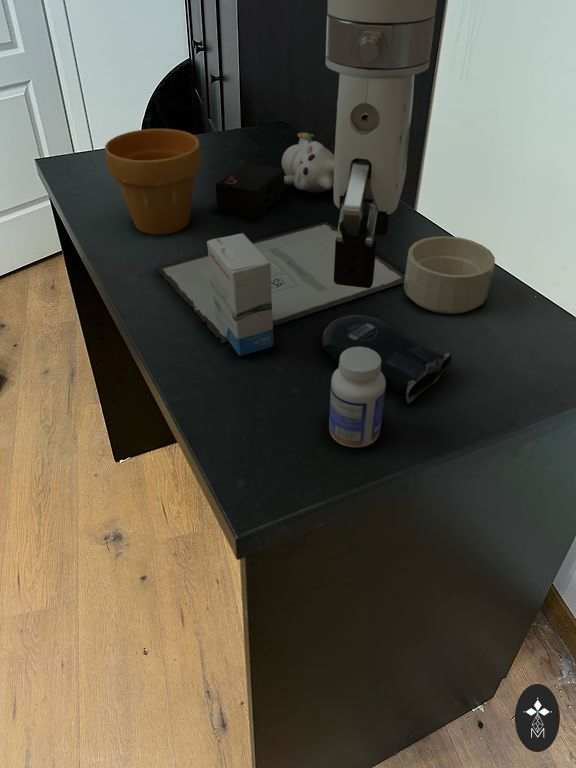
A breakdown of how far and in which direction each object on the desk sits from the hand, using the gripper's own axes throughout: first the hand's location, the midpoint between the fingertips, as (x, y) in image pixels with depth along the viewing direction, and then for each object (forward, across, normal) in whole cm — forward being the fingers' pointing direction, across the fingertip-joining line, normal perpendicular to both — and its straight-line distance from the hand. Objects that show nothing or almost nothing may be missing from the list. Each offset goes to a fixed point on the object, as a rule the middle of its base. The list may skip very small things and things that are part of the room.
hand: (362, 257), depth 58 cm
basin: (+20, +29, -8) cm, 36 cm away
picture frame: (+20, +28, +15) cm, 37 cm away
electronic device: (+20, +51, +26) cm, 60 cm away
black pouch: (+20, +11, -2) cm, 23 cm away
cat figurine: (+20, +60, +17) cm, 65 cm away
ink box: (+20, +12, +16) cm, 28 cm away
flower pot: (+20, +40, +38) cm, 59 cm away
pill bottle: (+20, -1, -1) cm, 20 cm away
